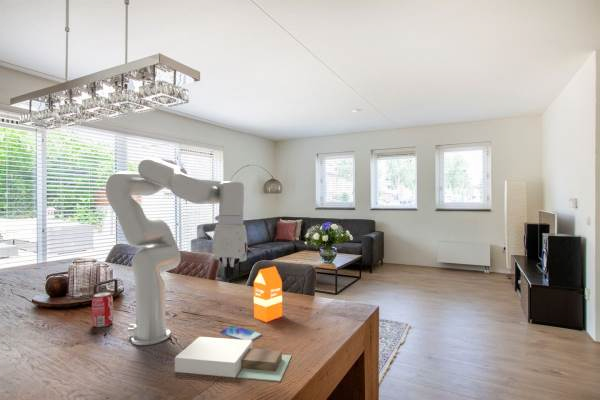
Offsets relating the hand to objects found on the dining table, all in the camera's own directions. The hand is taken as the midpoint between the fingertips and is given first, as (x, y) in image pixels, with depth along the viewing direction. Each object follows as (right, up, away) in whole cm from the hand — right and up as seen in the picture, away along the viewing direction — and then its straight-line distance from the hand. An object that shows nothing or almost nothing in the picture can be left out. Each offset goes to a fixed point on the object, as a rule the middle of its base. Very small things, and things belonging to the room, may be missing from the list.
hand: (229, 278), depth 102 cm
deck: (-3, -23, -6) cm, 24 cm away
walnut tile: (+11, -23, -8) cm, 27 cm away
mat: (+12, -23, -9) cm, 28 cm away
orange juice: (+9, -23, +31) cm, 40 cm away
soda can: (-55, -24, +25) cm, 65 cm away
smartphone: (+1, -24, +14) cm, 28 cm away
